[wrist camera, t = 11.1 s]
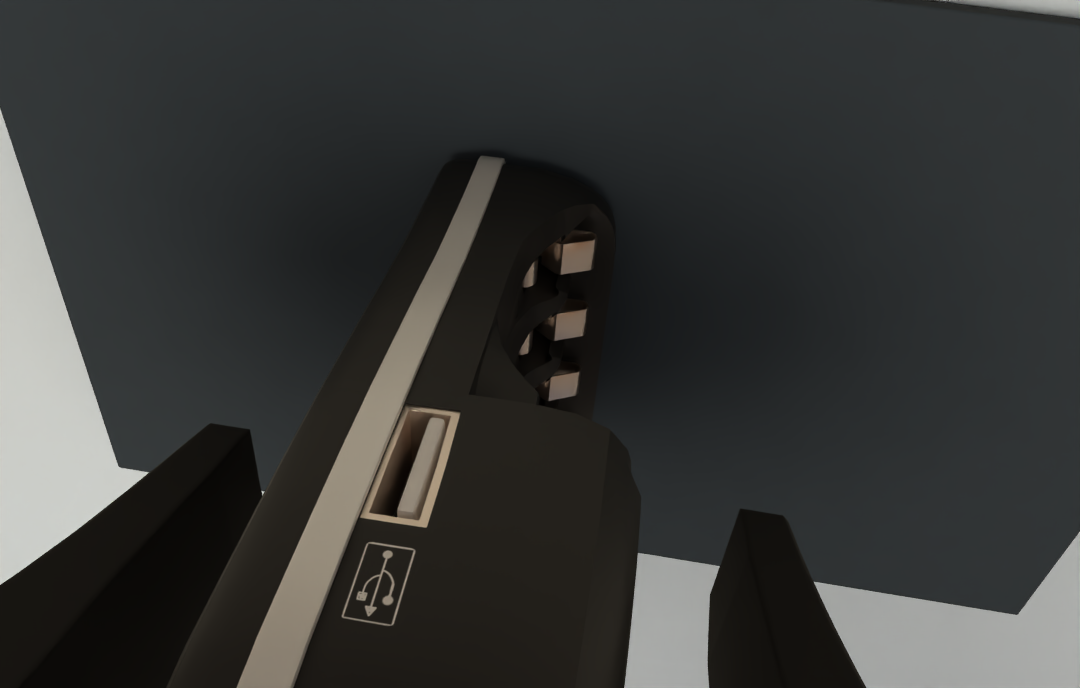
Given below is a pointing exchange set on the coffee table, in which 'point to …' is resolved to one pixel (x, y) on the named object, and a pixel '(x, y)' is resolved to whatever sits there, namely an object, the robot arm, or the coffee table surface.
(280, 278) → the mat
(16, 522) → the coffee table surface
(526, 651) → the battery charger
